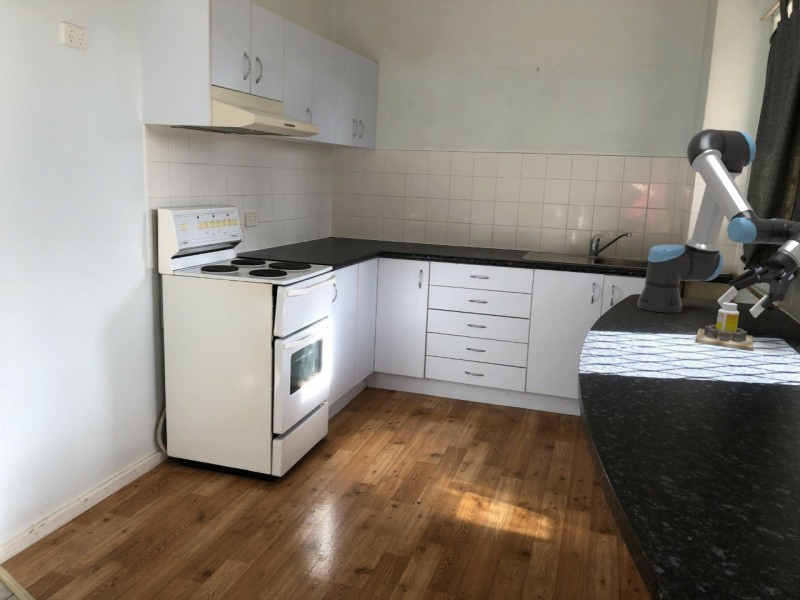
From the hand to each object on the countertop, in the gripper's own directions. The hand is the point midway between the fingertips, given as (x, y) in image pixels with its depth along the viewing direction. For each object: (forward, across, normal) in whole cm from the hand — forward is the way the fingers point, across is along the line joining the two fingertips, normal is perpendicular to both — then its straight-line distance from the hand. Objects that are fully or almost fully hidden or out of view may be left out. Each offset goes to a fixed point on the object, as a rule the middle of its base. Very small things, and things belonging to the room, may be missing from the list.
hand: (735, 309), depth 197 cm
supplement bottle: (+8, +1, -5) cm, 9 cm away
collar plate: (+8, +1, -6) cm, 10 cm away
